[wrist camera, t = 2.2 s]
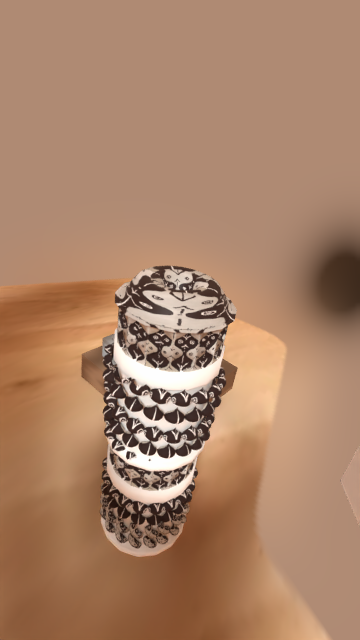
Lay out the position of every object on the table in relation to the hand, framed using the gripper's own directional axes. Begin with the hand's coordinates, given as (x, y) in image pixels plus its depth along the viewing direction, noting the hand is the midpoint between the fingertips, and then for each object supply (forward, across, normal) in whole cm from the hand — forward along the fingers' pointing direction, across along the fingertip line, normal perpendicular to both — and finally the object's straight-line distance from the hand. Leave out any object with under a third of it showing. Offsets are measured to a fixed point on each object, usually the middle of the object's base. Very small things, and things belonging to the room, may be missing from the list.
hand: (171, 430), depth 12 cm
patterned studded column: (+12, 0, -24) cm, 27 cm away
